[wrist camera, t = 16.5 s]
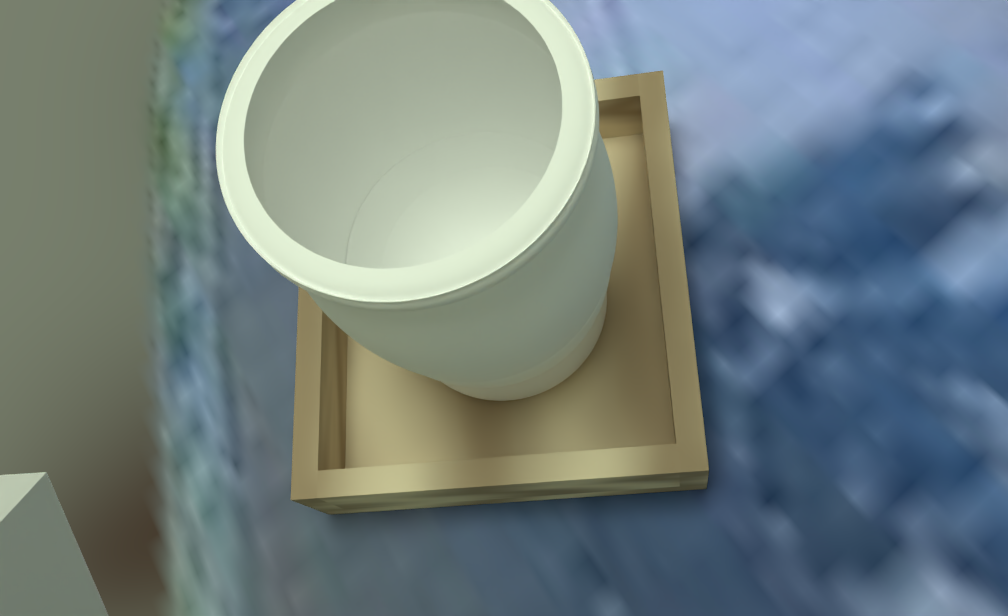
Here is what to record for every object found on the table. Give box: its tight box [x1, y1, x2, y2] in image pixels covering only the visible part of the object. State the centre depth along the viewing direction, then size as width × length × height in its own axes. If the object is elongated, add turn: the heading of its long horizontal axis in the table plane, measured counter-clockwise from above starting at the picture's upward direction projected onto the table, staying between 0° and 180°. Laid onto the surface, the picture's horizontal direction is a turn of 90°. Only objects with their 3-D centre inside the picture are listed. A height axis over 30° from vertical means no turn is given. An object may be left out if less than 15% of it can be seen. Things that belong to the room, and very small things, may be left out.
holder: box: [291, 71, 709, 514], centre depth 38 cm, size 15×16×4 cm
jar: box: [216, 0, 618, 401], centre depth 32 cm, size 11×10×15 cm
